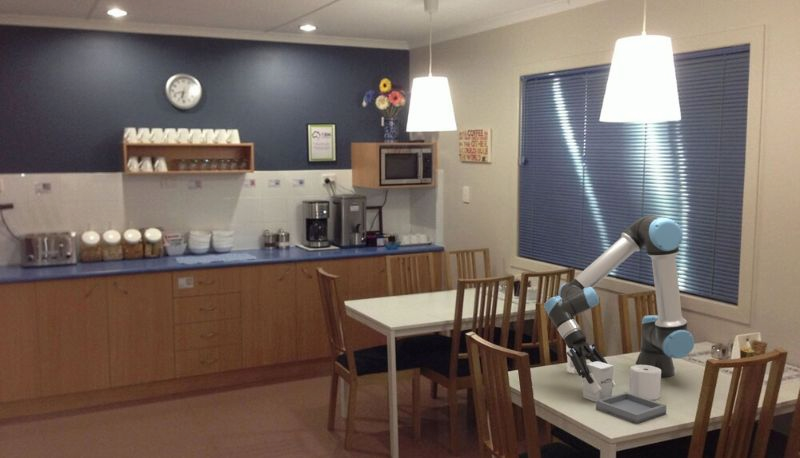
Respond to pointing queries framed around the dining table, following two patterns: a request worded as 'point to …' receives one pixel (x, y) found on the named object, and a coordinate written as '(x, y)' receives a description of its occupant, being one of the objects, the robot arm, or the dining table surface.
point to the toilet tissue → (645, 381)
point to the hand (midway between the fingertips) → (605, 388)
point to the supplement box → (599, 381)
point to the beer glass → (570, 364)
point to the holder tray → (631, 407)
